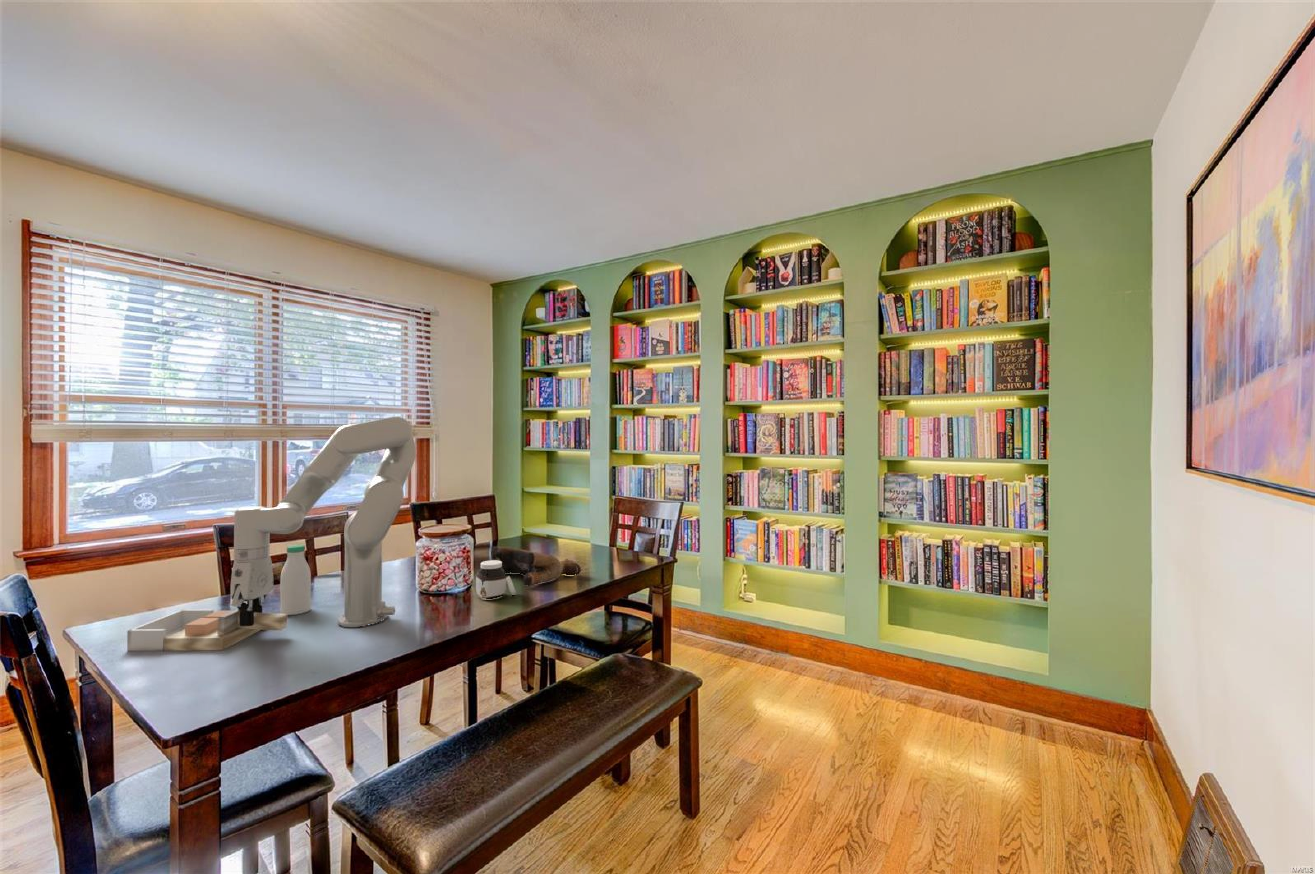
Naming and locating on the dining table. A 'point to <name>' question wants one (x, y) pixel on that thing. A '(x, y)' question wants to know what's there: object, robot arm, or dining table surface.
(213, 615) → the tile
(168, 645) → the board
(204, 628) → the tile
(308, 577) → the milk bottle
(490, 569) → the spread jar
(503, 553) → the brown teddy bear
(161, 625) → the box
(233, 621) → the scraper
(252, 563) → the robot arm
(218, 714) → the dining table surface
